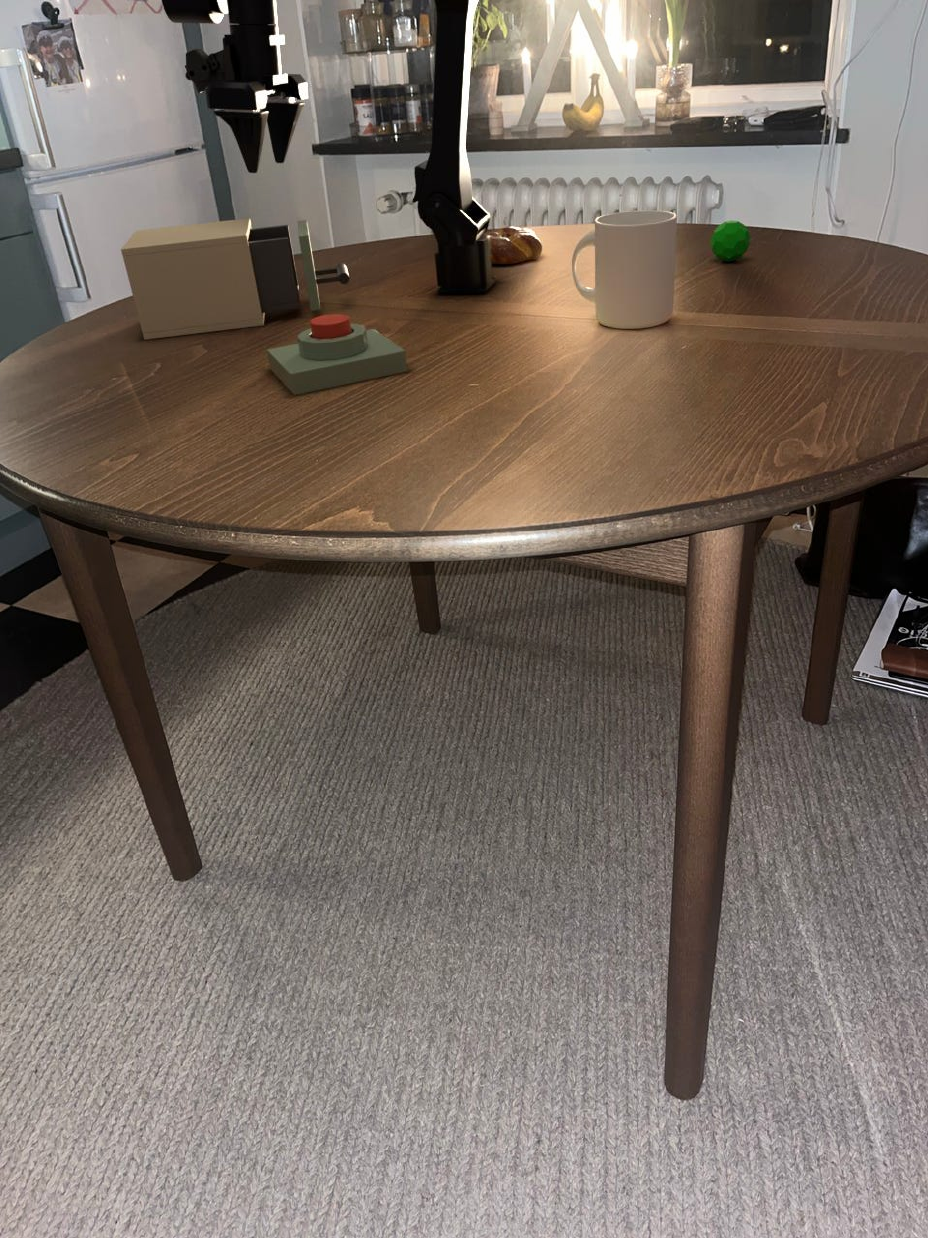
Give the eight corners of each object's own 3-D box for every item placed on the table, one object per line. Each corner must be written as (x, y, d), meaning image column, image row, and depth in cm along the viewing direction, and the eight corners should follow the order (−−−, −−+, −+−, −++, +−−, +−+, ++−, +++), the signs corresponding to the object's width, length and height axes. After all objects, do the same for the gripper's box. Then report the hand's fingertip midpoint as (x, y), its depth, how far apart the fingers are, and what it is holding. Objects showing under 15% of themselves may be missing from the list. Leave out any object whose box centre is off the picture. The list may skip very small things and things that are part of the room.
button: (345, 328, 98) (342, 311, 98) (356, 337, 95) (354, 319, 94) (308, 335, 97) (305, 318, 96) (318, 344, 94) (316, 326, 93)
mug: (591, 304, 112) (590, 208, 107) (685, 312, 106) (690, 210, 100) (555, 323, 107) (552, 222, 101) (652, 333, 100) (655, 226, 95)
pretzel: (470, 251, 144) (468, 226, 142) (541, 246, 143) (541, 220, 141) (466, 269, 134) (464, 241, 132) (542, 263, 133) (541, 236, 131)
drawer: (348, 285, 127) (339, 216, 122) (353, 305, 118) (343, 230, 113) (217, 301, 126) (202, 231, 121) (211, 323, 116) (194, 247, 111)
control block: (376, 348, 104) (371, 311, 102) (407, 371, 96) (403, 332, 94) (270, 369, 100) (263, 332, 98) (294, 395, 92) (286, 355, 90)
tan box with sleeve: (265, 301, 127) (250, 217, 121) (263, 325, 116) (246, 234, 111) (156, 314, 126) (135, 230, 120) (144, 339, 115) (120, 249, 109)
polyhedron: (748, 255, 127) (751, 217, 125) (747, 263, 123) (750, 224, 121) (711, 256, 129) (713, 218, 126) (708, 264, 125) (710, 226, 122)
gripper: (223, 22, 122) (237, 155, 130) (154, 24, 106) (175, 175, 115) (304, 24, 120) (313, 159, 128) (247, 26, 105) (261, 179, 113)
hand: (266, 167), depth 121 cm, fingers open, 9 cm apart
